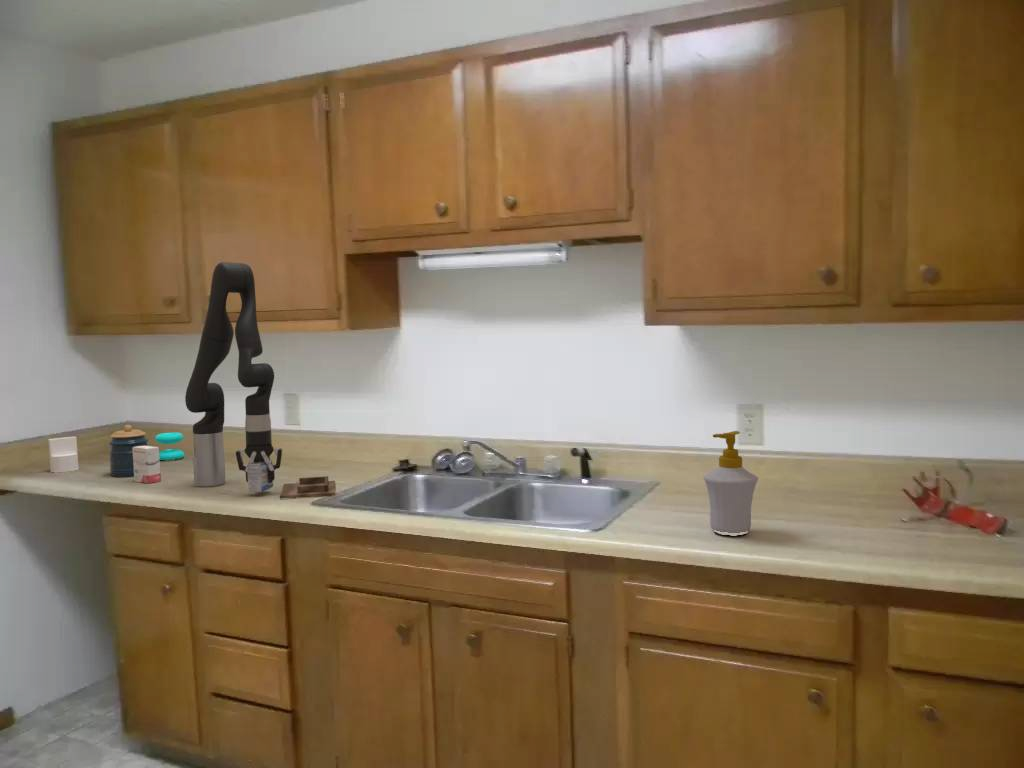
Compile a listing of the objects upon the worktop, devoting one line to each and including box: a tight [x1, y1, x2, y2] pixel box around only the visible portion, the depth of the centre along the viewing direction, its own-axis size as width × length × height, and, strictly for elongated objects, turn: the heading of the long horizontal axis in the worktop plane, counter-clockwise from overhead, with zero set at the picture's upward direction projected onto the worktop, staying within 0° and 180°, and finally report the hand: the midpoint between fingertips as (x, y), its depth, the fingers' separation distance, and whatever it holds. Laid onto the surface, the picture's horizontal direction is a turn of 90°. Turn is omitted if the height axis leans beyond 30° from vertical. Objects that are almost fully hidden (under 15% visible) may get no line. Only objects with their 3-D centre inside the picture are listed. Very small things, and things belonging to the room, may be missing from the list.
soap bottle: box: [703, 430, 759, 533], centre depth 197 cm, size 13×13×25 cm
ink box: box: [132, 445, 162, 484], centre depth 275 cm, size 9×5×12 cm, turn 57°
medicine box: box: [246, 459, 274, 493], centre depth 251 cm, size 8×4×9 cm, turn 170°
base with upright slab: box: [48, 436, 79, 473], centre depth 298 cm, size 9×9×12 cm
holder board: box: [279, 475, 336, 499], centre depth 255 cm, size 16×18×3 cm
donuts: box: [155, 431, 185, 461], centre depth 318 cm, size 10×10×10 cm
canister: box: [108, 424, 150, 478], centre depth 289 cm, size 13×13×18 cm
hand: (260, 482), depth 252 cm, fingers closed on medicine box, 5 cm apart
